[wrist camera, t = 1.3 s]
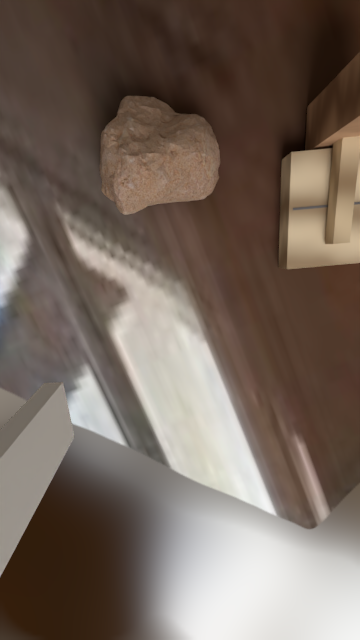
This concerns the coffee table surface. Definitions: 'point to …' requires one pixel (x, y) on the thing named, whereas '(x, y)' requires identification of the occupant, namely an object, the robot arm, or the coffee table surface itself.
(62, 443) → the robot arm
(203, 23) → the coffee table surface
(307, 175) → the board
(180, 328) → the coffee table surface
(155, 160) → the stone
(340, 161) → the block
